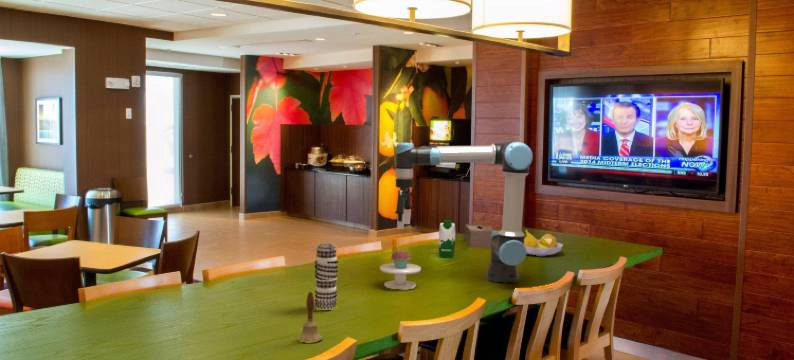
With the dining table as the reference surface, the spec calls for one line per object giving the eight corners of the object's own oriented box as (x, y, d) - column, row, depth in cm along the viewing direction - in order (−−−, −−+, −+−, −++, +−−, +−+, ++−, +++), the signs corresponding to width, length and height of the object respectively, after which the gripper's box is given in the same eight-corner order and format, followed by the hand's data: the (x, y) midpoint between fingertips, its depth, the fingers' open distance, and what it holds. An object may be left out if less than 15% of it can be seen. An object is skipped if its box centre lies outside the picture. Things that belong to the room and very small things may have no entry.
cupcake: (393, 269, 287) (394, 242, 286) (388, 265, 295) (389, 239, 294) (412, 269, 289) (413, 241, 288) (407, 264, 298) (408, 238, 296)
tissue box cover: (464, 239, 412) (465, 224, 411) (487, 240, 413) (488, 224, 412) (470, 247, 387) (470, 230, 386) (494, 248, 387) (495, 231, 386)
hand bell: (292, 340, 220) (292, 292, 218) (310, 333, 226) (310, 288, 225) (310, 345, 214) (310, 297, 213) (327, 339, 221) (328, 292, 220)
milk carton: (438, 258, 355) (439, 221, 353) (438, 254, 364) (439, 218, 362) (454, 258, 354) (455, 221, 352) (454, 255, 363) (455, 219, 361)
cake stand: (423, 283, 300) (424, 264, 299) (416, 292, 282) (416, 273, 282) (385, 280, 304) (385, 261, 303) (375, 289, 286) (375, 270, 286)
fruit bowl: (567, 259, 359) (568, 238, 358) (517, 258, 360) (518, 237, 359) (556, 249, 387) (557, 230, 386) (510, 248, 388) (510, 229, 387)
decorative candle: (338, 305, 262) (339, 242, 259) (337, 311, 252) (337, 247, 250) (315, 304, 261) (315, 242, 259) (312, 311, 252) (313, 246, 250)
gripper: (401, 175, 302) (401, 221, 304) (389, 180, 278) (388, 230, 280) (418, 176, 301) (417, 222, 303) (407, 180, 277) (406, 231, 279)
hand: (403, 226), depth 291 cm, fingers open, 13 cm apart
